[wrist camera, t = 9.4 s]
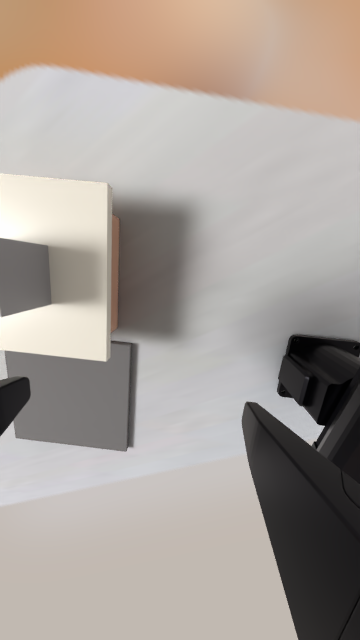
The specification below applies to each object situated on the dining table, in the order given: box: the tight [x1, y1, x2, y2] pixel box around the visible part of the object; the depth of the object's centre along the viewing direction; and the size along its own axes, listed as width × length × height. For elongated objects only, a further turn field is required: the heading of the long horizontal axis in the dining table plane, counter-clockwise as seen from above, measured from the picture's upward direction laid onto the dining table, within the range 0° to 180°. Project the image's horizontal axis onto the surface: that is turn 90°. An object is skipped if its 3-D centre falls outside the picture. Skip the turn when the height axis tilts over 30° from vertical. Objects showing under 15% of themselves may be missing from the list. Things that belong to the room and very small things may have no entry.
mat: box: [5, 341, 132, 451], centre depth 22 cm, size 13×13×1 cm
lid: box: [0, 174, 112, 362], centre depth 13 cm, size 12×12×5 cm
